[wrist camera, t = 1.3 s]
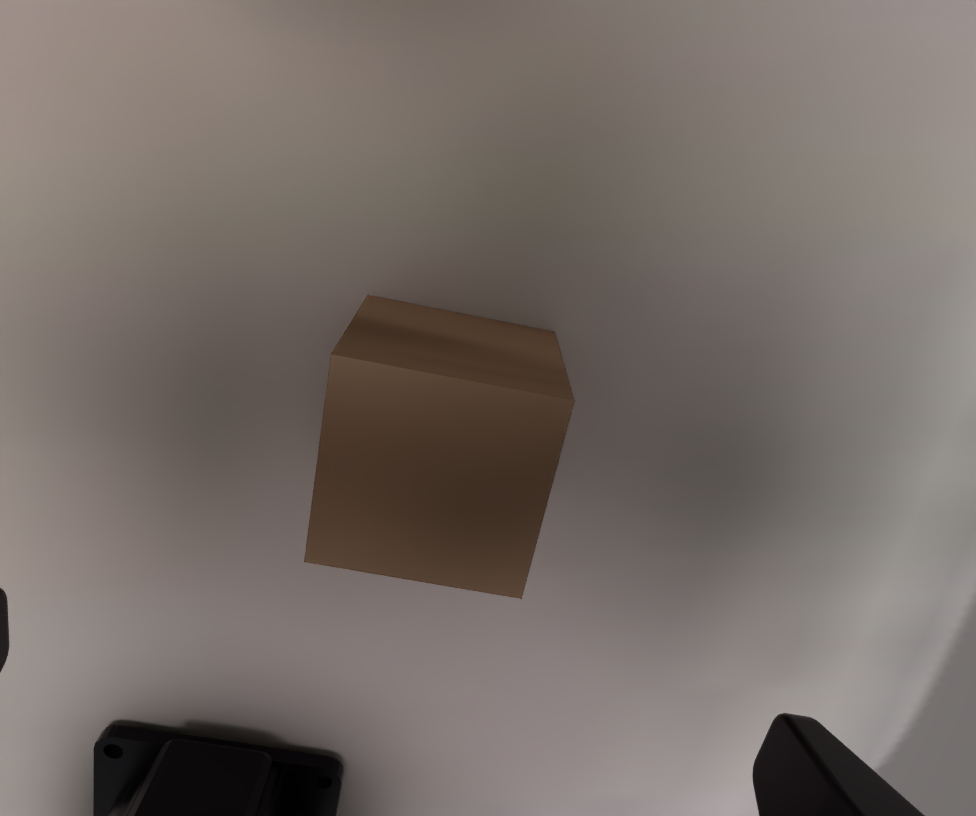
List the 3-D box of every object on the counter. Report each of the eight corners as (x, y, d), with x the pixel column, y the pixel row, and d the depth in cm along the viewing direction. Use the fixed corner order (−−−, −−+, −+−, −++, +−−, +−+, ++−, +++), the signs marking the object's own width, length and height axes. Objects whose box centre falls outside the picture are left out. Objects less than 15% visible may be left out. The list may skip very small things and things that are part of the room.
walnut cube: (514, 492, 17) (521, 599, 14) (344, 462, 17) (304, 562, 13) (554, 330, 16) (574, 401, 12) (368, 294, 16) (331, 354, 12)
